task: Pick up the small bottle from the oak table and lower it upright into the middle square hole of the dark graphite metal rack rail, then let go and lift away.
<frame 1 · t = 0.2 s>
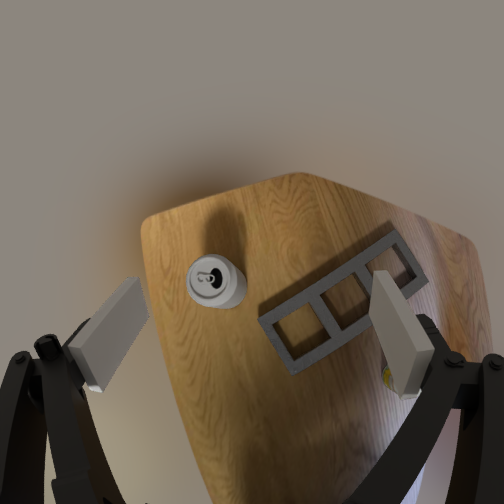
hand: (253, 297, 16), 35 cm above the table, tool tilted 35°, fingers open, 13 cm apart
can: (226, 287, 53), on the table
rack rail: (346, 301, 49), on the table
supplement bottle: (395, 373, 46), on the table
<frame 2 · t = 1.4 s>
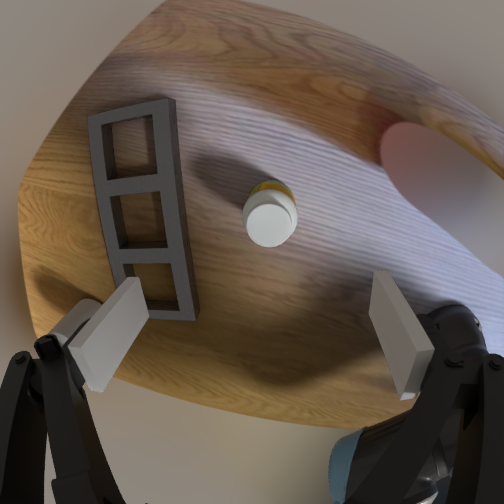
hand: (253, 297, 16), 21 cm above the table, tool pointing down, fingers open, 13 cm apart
can: (97, 314, 45), on the table
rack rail: (146, 216, 37), on the table
supplement bottle: (271, 201, 35), on the table
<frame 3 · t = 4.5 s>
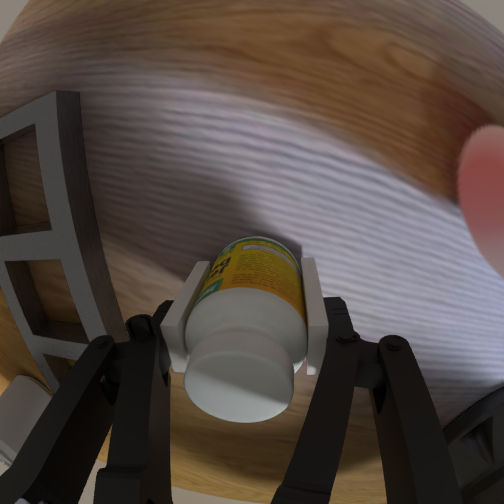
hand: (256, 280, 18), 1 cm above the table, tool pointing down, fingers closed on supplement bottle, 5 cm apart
can: (40, 391, 29), on the table
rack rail: (60, 287, 21), on the table
supplement bottle: (257, 272, 19), on the table, touching gripper
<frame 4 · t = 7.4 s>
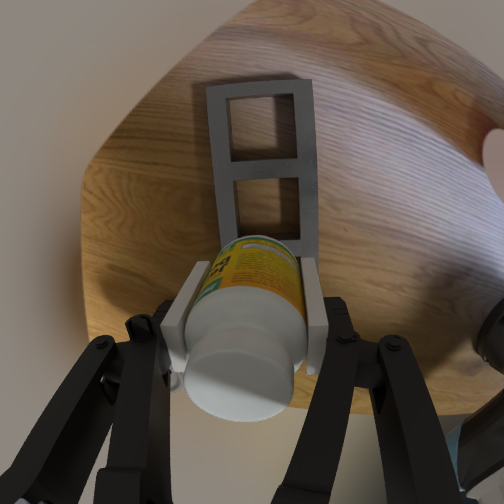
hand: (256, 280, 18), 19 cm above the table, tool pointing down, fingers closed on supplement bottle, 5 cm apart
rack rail: (268, 205, 35), on the table
supplement bottle: (257, 272, 19), point 18 cm above the table, touching gripper
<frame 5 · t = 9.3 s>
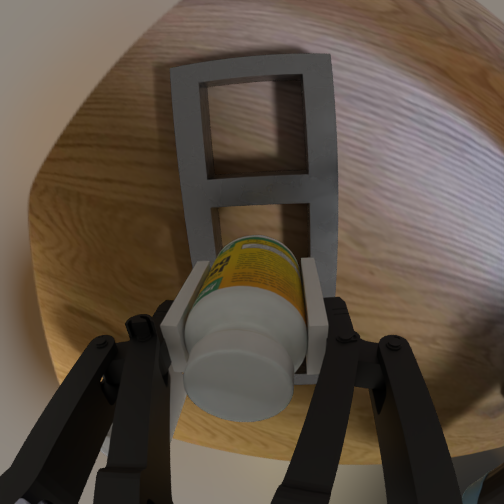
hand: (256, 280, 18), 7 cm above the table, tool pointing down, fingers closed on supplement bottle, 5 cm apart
can: (160, 373, 32), on the table
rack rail: (264, 239, 25), on the table
supplement bottle: (257, 271, 19), point 6 cm above the table, touching gripper
when the fingers open (4 cm above the table, at t = 10.8 s): supplement bottle drops 3 cm, resting in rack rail.
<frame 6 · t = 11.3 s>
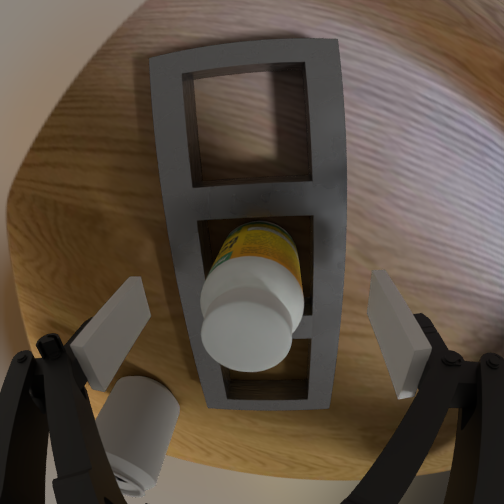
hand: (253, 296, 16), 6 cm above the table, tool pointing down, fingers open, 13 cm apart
can: (149, 393, 29), on the table
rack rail: (260, 255, 22), on the table
supplement bottle: (260, 253, 22), resting in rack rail
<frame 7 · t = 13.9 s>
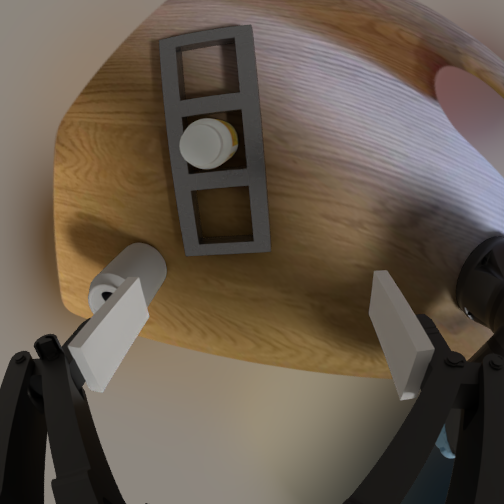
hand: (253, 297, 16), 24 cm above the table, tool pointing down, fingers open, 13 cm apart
can: (145, 263, 43), on the table
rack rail: (217, 140, 35), on the table
supplement bottle: (218, 140, 36), resting in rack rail
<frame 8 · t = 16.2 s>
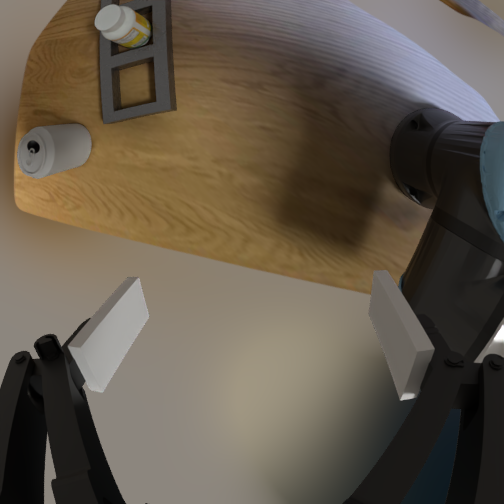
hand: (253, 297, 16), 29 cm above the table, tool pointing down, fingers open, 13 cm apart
can: (77, 144, 42), on the table
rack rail: (138, 34, 35), on the table
supplement bottle: (138, 34, 35), resting in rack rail
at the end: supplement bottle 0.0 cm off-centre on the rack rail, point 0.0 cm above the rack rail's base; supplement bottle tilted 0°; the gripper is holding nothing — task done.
